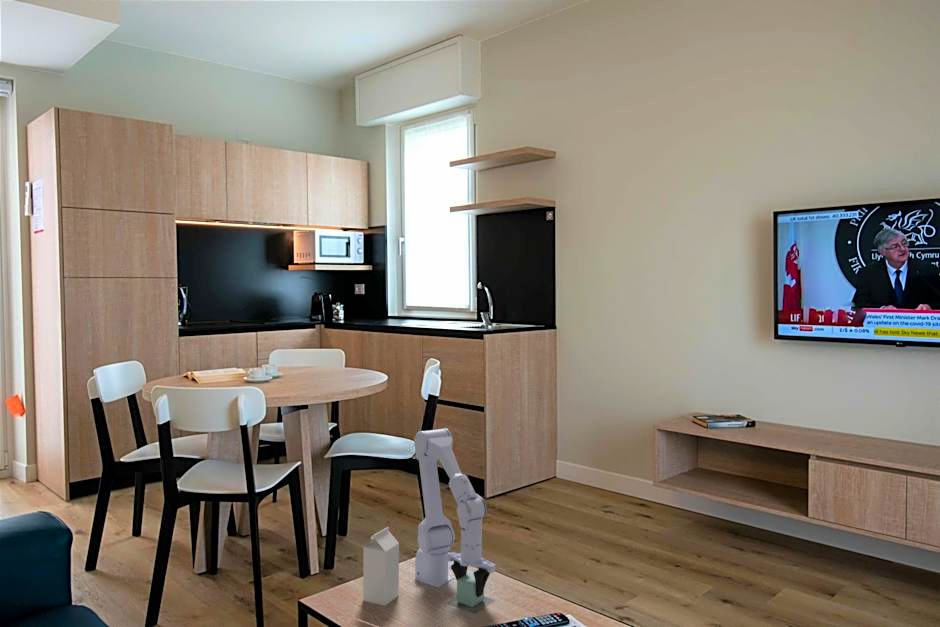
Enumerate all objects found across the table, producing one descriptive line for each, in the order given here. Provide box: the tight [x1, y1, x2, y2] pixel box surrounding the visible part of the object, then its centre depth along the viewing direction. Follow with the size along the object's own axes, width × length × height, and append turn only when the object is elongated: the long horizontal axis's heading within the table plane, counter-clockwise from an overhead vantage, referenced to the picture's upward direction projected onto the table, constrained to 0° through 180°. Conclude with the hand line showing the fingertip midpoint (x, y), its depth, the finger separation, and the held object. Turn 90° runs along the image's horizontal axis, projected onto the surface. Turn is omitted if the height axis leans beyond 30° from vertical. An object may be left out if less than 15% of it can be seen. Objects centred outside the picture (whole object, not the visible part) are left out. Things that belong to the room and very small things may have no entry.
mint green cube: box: [456, 572, 485, 607], centre depth 184 cm, size 5×5×6 cm
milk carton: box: [362, 526, 400, 606], centre depth 186 cm, size 7×7×19 cm
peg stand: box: [445, 595, 497, 614], centre depth 185 cm, size 10×10×5 cm
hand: (470, 592), depth 185 cm, fingers closed on mint green cube, 5 cm apart
